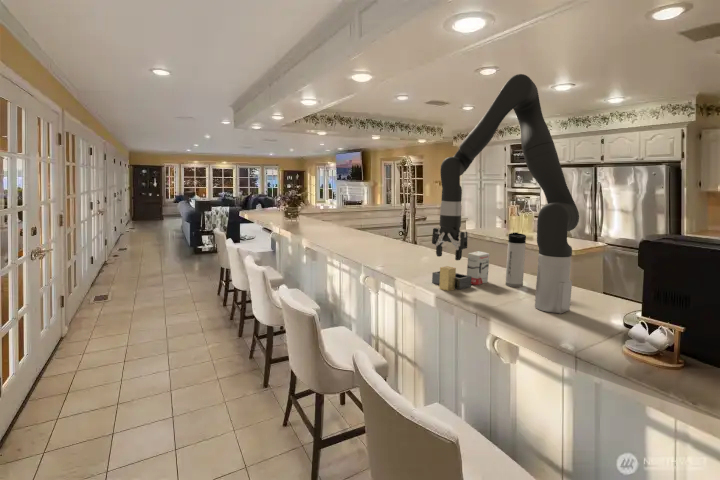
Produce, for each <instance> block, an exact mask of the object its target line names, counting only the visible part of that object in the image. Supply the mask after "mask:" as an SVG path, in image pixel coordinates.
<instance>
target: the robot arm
mask: <svg viewBox="0 0 720 480" xmlns="http://www.w3.org/2000/svg"><path fill="white" fill-rule="evenodd" d="M511 111H514V113H515V116H516V118H517V121H518V124H519V127H520V129H519V130H520V145H521V150H522V154H523V158H524V161H525V165H526V167H527V170H529V173H530V175H531V176H532V177H533V179H534V180H535V181H536V182H537V184H538V185H539V186H540V188H541V189H542V190H541V191H543V193H544V196H545V198H546V202H547V203H546V204H545V205H542V207H541V208H540V210H539V211H538V215H537V222H536V244H537V246H538V254H537V255H538V258H537V268H536V269H537V271H536V284H535V295H534V296H535V297H534V298H535V299H534V308H536V309H537V310H539V311H543V312H546V313H555V314H564V313H566V312H568V311H570V310H571V309H570V308H571V298H572V289H573V280H572V279H570V278H571V267H572V255H573V247H572V246H571V245H570V244H569V243H568V232H570V231H574V229H576V227H577V226H578V225H579V222H580V213H579V210H578V206H577V205H576V202H575V200H574V198H573V196H572V194H571V191H570V189H569V186H568V185H567V182H566V179H565V175H564V172H563V169H562V165H561V162H560V158H559V156H558V152H557V148H556V145H555V142H554V140H553V137H552V135H551V132H550V130H549V126H547V125H548V124H547V123H546V121H545V119H544V115H543V111H542V107H541V101H540V97H539V91H538V87H537V85H536V83H534V81H533V80H532V79H531V78H530V76H528V75H526V74H522V73H518V74H515V75H512V76H511V77H510V78H509V79H508V80H507V81H506V82H505V84H504V85H503V86H502V88H501V90H500V91H499V93H498V94H497V96H496V97H495V99H494V100H493V102H492V103H491V105H490V107H488V109H487V111H486V112H485V113H484V115H483V116H482V118H481V119H480V120H479V121H478V123H477V124H476V125H475V127H473V129H472V130H471V131H470V132H469V134H468V135H467V136H466V137H464V139H463V140H462V142H461V143H460V144H459V149H457V151H456V153H455V154H454V155H453V156H449V157H446V158H445V159H443V160H442V162H441V165H440V181H441V188H442V189H441V201H440V209H439V210H440V211H439V227H433V229H432V238H431V244H432V245H435V254H436V257H439V258H440V257H442V256H443V244H444V243H445V242H448V243H452V245H453V246H454V248H455V249H456V250H455V254H454V255H455V257H454V259H455V261H461V260H462V257H463V250H465V249H468V231H461V229H460V228H461V225H462V211H463V210H462V209H463V207H462V206H463V205H462V204H463V203H462V201H463V200H462V199H463V198H462V197H463V189H462V185H461V183H460V182H461V176H462V175H463V174H464V173H465V172H466V171H467V170H468V168H469V167H470V166H471V164H472V163H473V162H474V160H475V158H476V157H478V155H479V154H480V153H481V152H482V151H483V150H484V149H485V147H487V145H488V144H489V143H490V142H491V141H492V139H493V137H494V136H495V134H496V132H497V130H498V128H499V126H500V124H501V123H502V122H503V120H504V119H505V118H506V117H507V116H508V114H509V113H510V112H511Z"/></svg>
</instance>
